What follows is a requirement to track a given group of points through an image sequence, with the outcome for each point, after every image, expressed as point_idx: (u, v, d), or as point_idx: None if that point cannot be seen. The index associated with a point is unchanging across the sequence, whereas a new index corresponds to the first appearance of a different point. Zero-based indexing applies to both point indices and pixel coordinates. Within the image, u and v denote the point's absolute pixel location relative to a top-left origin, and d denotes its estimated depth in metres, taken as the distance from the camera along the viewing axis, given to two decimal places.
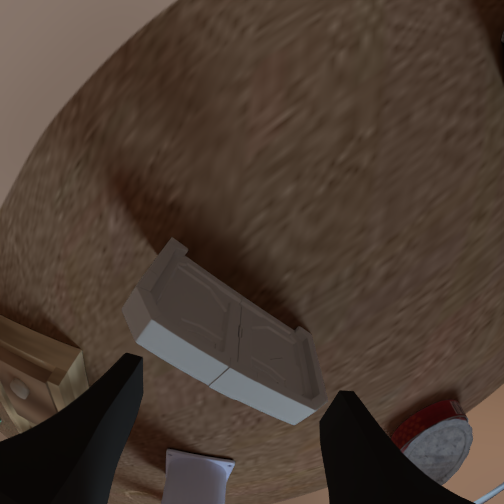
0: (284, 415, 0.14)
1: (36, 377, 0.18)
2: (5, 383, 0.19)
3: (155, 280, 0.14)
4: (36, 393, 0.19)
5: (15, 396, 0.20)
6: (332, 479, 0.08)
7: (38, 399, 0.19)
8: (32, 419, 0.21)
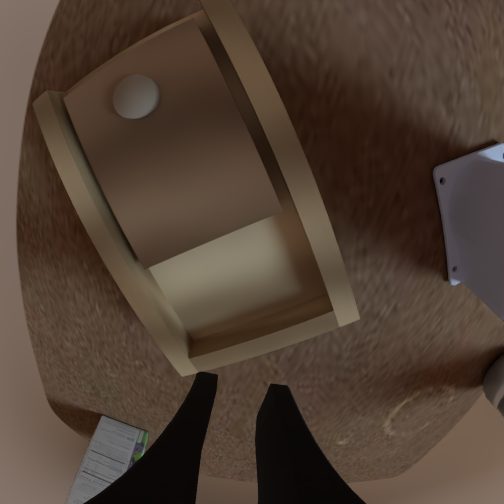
0: None
1: (172, 29, 0.10)
2: (101, 153, 0.12)
3: None
4: (176, 77, 0.11)
5: (128, 173, 0.13)
6: (260, 478, 0.08)
7: (183, 96, 0.11)
8: (181, 229, 0.14)
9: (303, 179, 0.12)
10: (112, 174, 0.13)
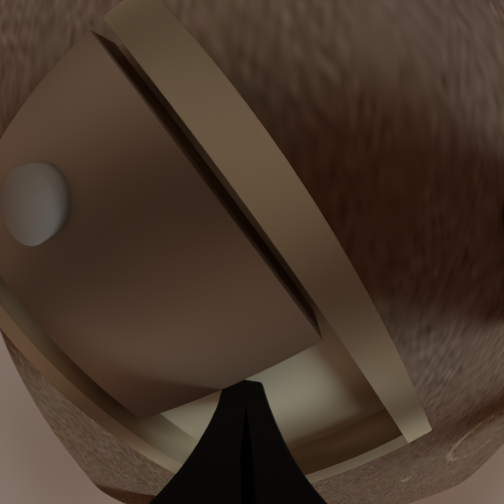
0: None
1: (62, 61, 0.05)
2: (28, 289, 0.07)
3: None
4: (84, 148, 0.06)
5: (70, 316, 0.08)
6: None
7: (104, 182, 0.06)
8: (172, 382, 0.08)
9: (366, 328, 0.07)
10: (52, 318, 0.08)
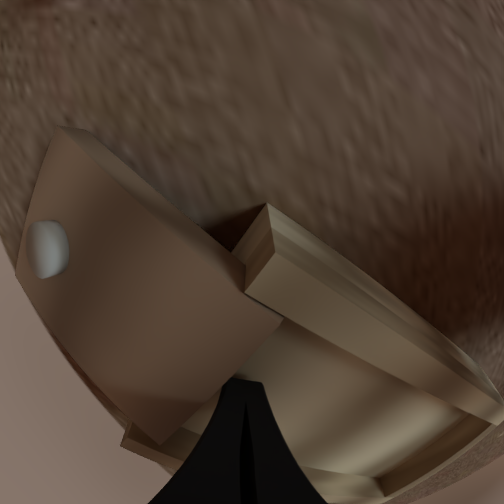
0: None
1: (49, 151, 0.09)
2: (58, 323, 0.10)
3: None
4: (68, 202, 0.09)
5: (85, 339, 0.09)
6: None
7: (81, 221, 0.08)
8: (165, 395, 0.08)
9: (463, 391, 0.09)
10: (75, 345, 0.10)
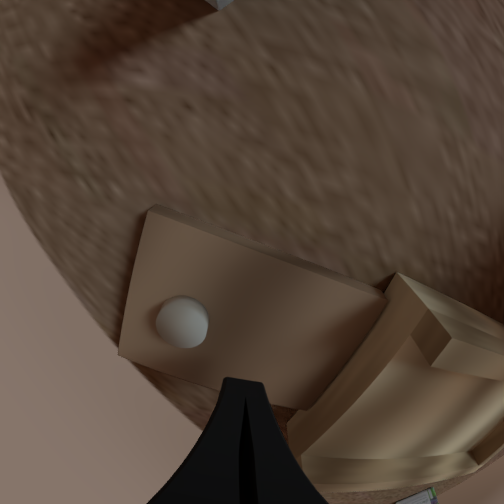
0: None
1: (142, 235, 0.11)
2: (197, 372, 0.13)
3: None
4: (197, 277, 0.11)
5: (235, 370, 0.13)
6: None
7: (221, 288, 0.11)
8: (315, 373, 0.13)
9: None
10: (222, 379, 0.13)
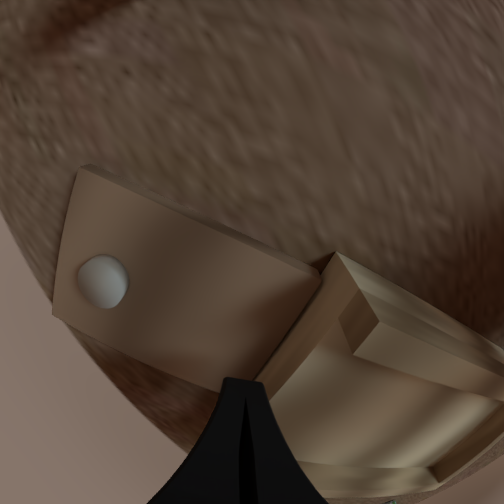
0: None
1: (73, 192, 0.10)
2: (122, 339, 0.12)
3: None
4: (118, 235, 0.10)
5: (157, 342, 0.12)
6: None
7: (140, 248, 0.10)
8: (242, 355, 0.12)
9: None
10: (146, 350, 0.12)
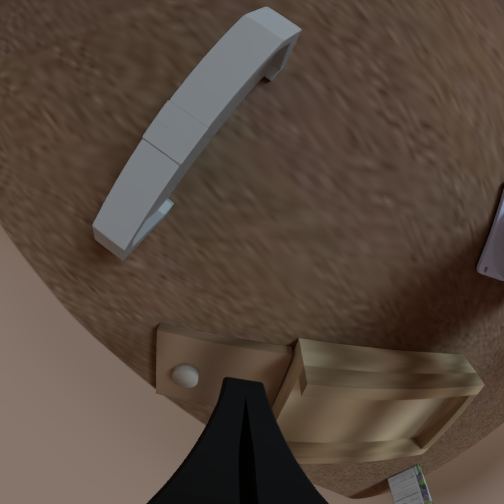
0: (253, 55, 0.08)
1: (157, 340, 0.21)
2: (200, 397, 0.23)
3: None
4: (188, 355, 0.21)
5: None
6: None
7: (201, 358, 0.21)
8: None
9: (423, 392, 0.18)
10: (214, 399, 0.23)
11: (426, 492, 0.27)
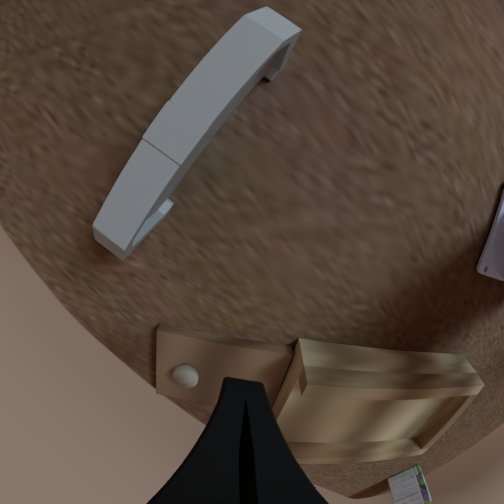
0: (252, 55, 0.08)
1: (157, 339, 0.21)
2: (200, 397, 0.23)
3: None
4: (188, 355, 0.21)
5: None
6: None
7: (200, 358, 0.21)
8: None
9: (423, 392, 0.18)
10: (214, 399, 0.23)
11: (426, 492, 0.27)
